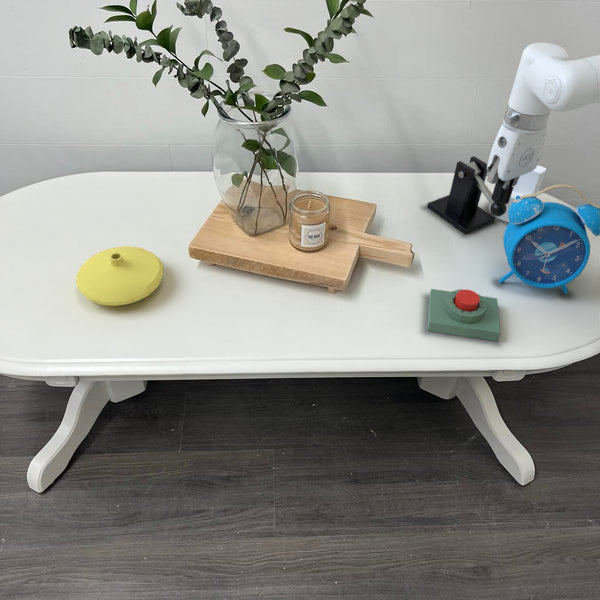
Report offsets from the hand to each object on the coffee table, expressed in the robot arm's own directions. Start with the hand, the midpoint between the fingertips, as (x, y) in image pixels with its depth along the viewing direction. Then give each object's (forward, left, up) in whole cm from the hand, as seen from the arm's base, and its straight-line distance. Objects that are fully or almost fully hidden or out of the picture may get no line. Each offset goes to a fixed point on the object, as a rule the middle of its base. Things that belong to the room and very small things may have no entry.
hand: (499, 201), depth 117 cm
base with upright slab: (-5, -10, -9) cm, 14 cm away
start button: (+6, +28, -5) cm, 29 cm away
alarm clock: (-8, +14, -9) cm, 18 cm away
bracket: (+6, -6, -9) cm, 12 cm away
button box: (+6, +28, -9) cm, 30 cm away
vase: (+69, +33, -9) cm, 77 cm away
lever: (+3, -4, -1) cm, 5 cm away
